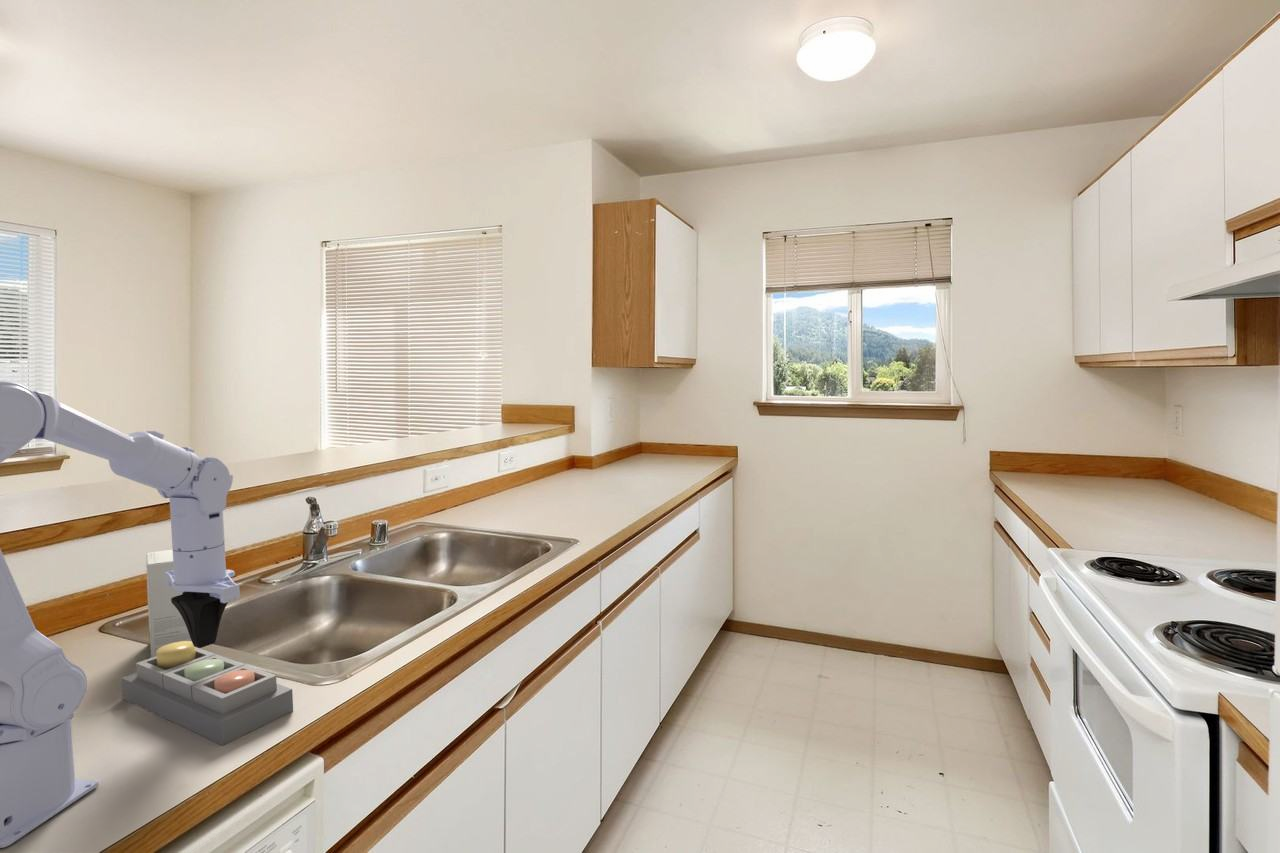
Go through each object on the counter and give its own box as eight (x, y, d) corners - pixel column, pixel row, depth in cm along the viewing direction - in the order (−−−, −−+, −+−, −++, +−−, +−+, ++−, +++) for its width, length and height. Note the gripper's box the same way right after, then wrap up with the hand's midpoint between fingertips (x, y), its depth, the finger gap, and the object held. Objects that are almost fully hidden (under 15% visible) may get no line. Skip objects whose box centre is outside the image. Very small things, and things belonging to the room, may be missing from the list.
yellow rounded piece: (202, 658, 89) (201, 644, 89) (167, 671, 86) (166, 656, 85) (185, 652, 91) (184, 638, 91) (150, 664, 88) (149, 650, 87)
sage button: (231, 677, 86) (230, 663, 86) (196, 691, 82) (195, 676, 82) (213, 670, 88) (212, 656, 88) (178, 683, 84) (177, 669, 84)
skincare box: (150, 643, 106) (144, 552, 104) (197, 633, 110) (193, 545, 109) (150, 660, 99) (144, 563, 98) (201, 649, 103) (196, 556, 102)
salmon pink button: (262, 688, 83) (261, 674, 83) (227, 704, 79) (226, 688, 79) (242, 681, 85) (241, 667, 85) (207, 695, 81) (206, 681, 81)
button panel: (293, 710, 84) (291, 674, 84) (222, 745, 76) (220, 705, 76) (193, 671, 95) (191, 640, 95) (123, 698, 87) (120, 663, 87)
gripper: (261, 545, 84) (266, 644, 85) (201, 533, 91) (207, 624, 92) (203, 559, 78) (209, 665, 79) (145, 544, 85) (151, 642, 86)
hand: (204, 644), depth 85 cm, fingers closed
